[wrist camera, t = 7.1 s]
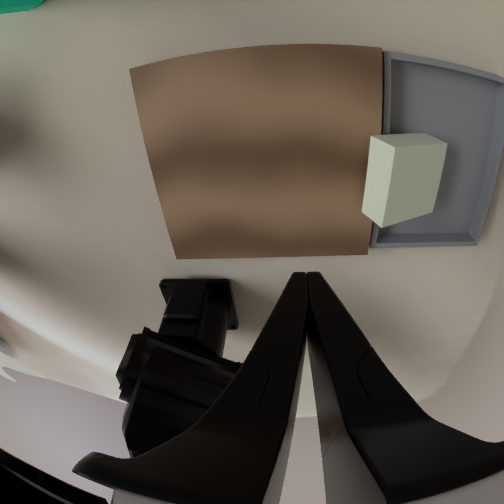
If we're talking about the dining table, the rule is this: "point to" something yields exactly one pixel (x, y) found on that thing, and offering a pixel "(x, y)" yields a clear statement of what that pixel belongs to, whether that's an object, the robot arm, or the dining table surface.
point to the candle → (18, 5)
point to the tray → (458, 148)
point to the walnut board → (262, 148)
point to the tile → (402, 176)
